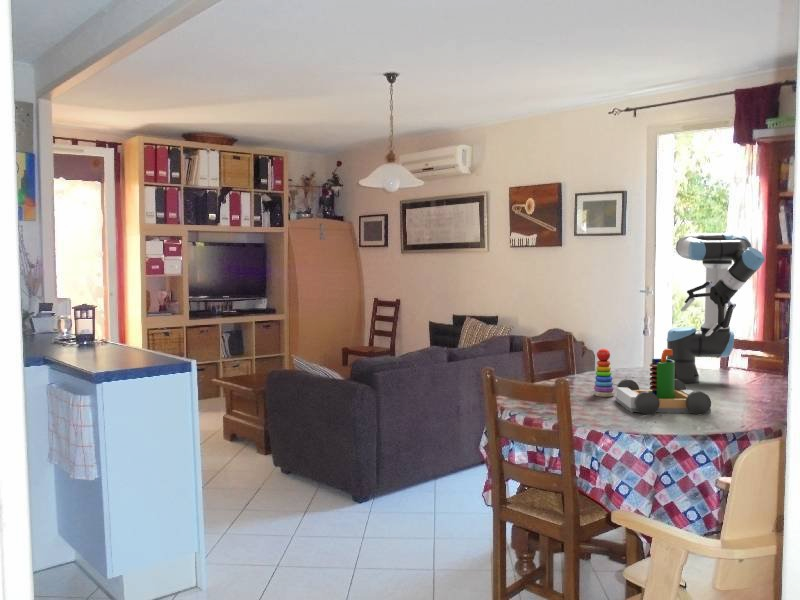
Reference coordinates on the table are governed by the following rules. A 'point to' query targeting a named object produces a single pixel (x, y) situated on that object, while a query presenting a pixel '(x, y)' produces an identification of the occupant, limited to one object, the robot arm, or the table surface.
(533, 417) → the table surface
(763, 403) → the table surface
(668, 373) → the motor
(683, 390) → the chassis
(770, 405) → the table surface
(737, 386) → the table surface
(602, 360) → the stacking toy
